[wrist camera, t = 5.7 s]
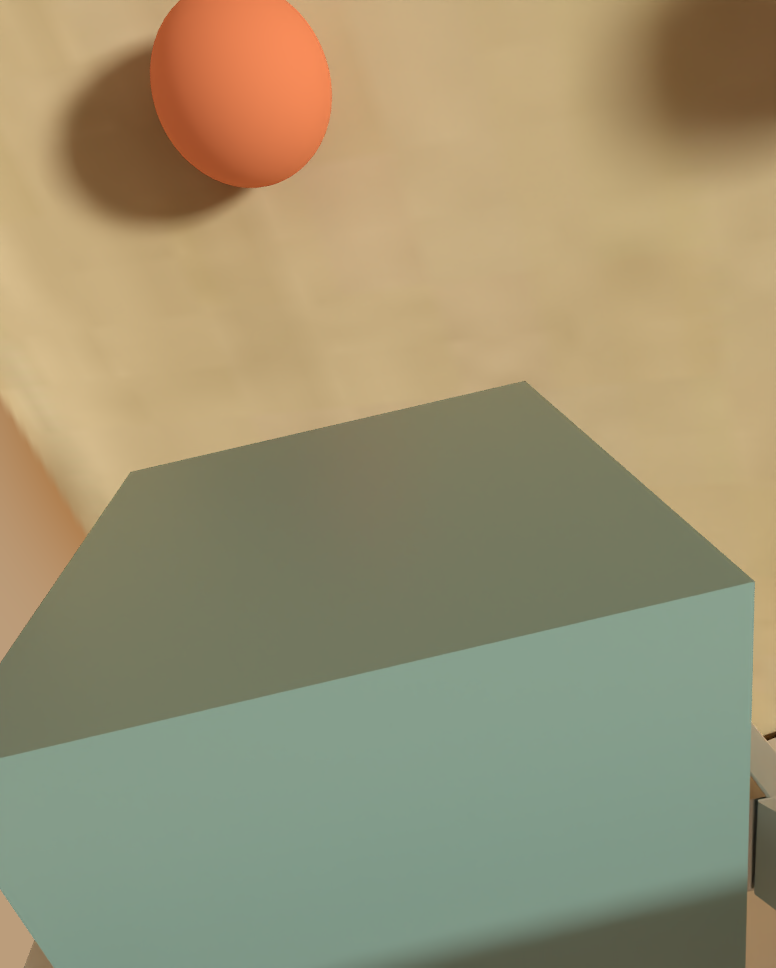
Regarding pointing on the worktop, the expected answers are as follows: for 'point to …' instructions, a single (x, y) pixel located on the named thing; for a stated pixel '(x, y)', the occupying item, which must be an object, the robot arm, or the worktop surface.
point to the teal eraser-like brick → (385, 711)
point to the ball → (241, 88)
